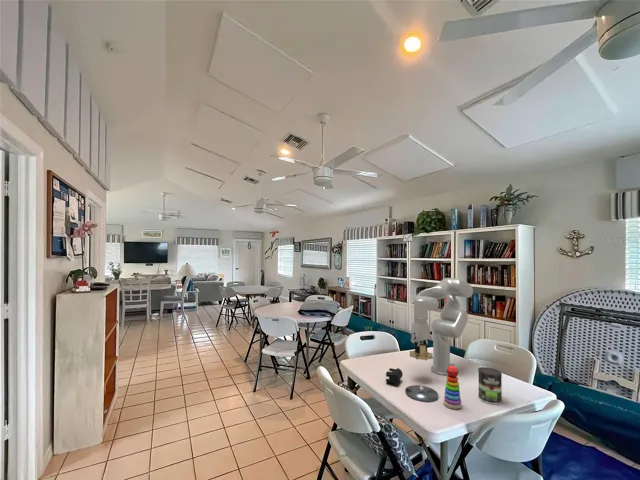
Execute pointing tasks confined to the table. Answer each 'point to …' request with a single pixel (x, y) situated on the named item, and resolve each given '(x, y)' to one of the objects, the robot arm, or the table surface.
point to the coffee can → (490, 385)
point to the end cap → (393, 376)
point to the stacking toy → (452, 389)
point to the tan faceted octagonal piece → (421, 353)
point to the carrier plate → (421, 393)
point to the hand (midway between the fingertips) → (421, 351)
